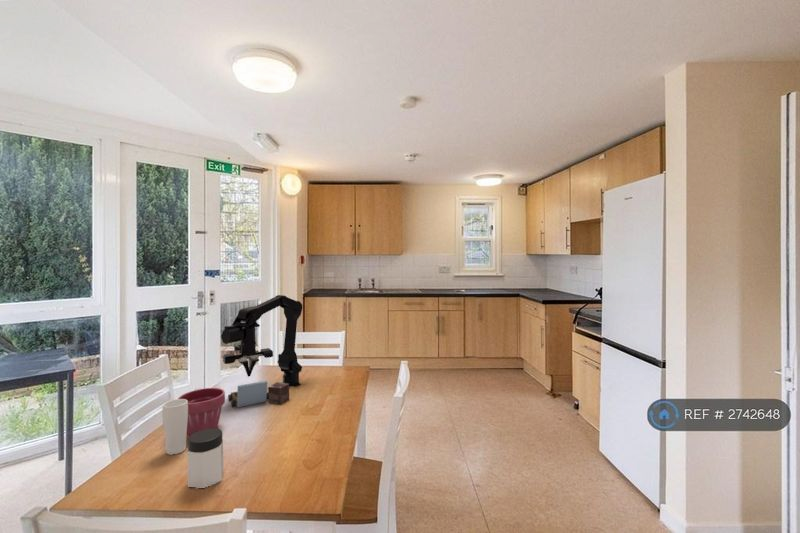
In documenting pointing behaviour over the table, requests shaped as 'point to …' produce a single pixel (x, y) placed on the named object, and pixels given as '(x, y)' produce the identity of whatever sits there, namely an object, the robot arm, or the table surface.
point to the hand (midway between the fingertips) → (248, 376)
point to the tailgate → (251, 393)
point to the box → (278, 393)
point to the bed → (233, 399)
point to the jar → (205, 458)
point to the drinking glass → (175, 425)
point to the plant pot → (203, 408)
